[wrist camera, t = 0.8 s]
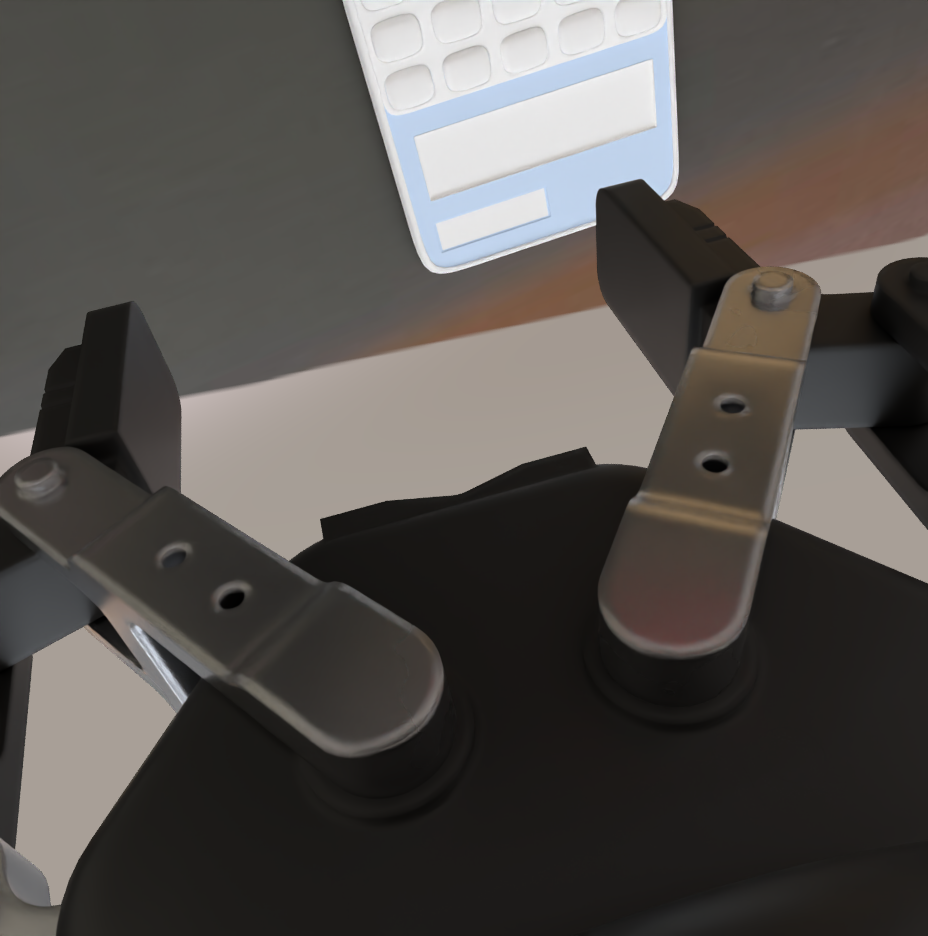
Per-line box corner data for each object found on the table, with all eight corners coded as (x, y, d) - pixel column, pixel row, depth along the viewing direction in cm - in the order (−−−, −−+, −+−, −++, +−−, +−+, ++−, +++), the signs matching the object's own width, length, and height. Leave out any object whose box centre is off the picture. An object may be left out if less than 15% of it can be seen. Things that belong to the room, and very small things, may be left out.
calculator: (642, -360, 28) (665, -365, 27) (669, 186, 42) (686, 201, 40) (269, -243, 28) (273, -242, 26) (420, 268, 42) (427, 287, 40)
